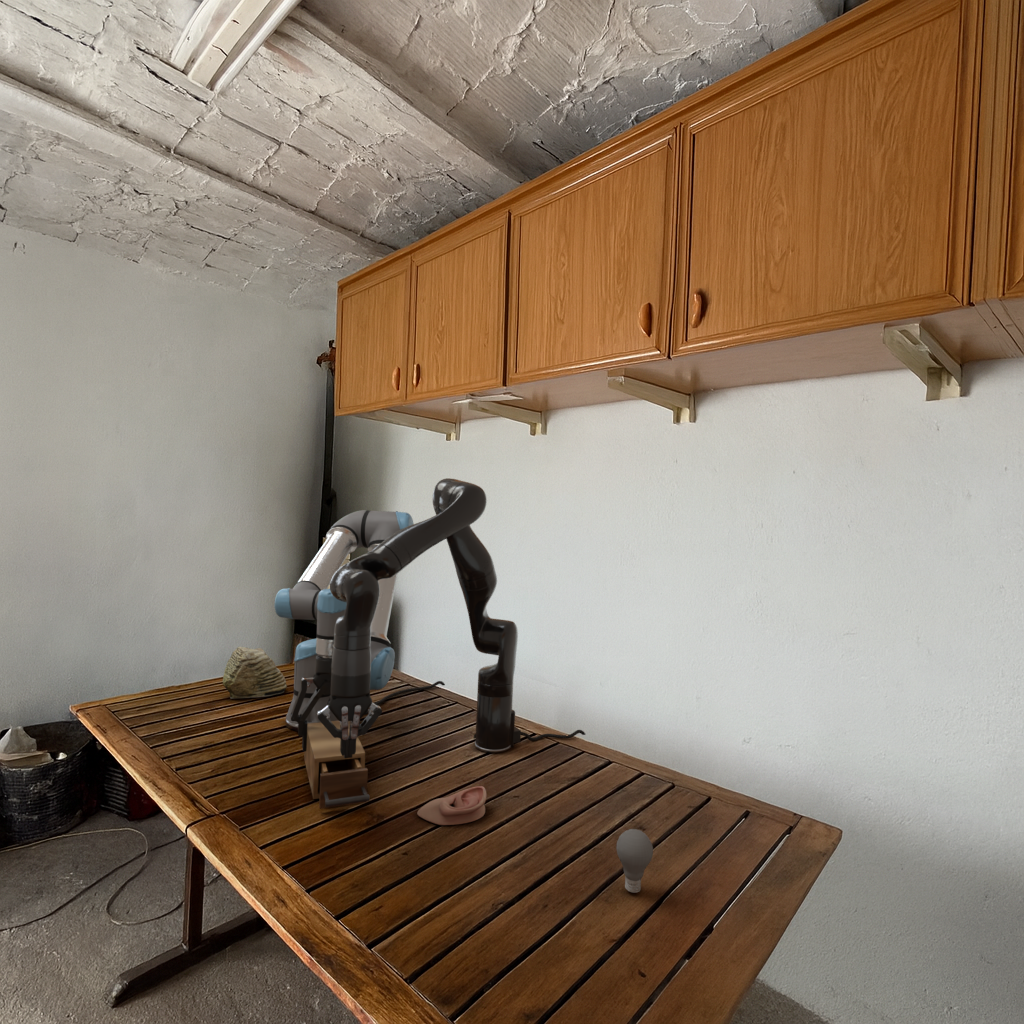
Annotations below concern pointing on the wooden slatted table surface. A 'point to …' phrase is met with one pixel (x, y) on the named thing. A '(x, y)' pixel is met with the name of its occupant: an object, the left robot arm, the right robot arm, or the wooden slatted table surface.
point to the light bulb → (634, 857)
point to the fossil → (252, 674)
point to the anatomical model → (456, 807)
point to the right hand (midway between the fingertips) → (347, 756)
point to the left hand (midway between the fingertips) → (328, 746)
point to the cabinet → (325, 752)
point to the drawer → (342, 783)
